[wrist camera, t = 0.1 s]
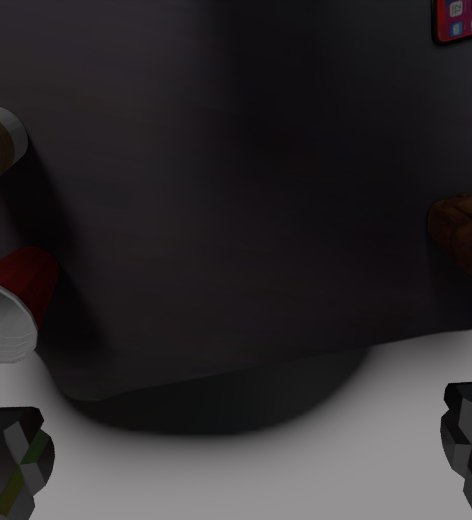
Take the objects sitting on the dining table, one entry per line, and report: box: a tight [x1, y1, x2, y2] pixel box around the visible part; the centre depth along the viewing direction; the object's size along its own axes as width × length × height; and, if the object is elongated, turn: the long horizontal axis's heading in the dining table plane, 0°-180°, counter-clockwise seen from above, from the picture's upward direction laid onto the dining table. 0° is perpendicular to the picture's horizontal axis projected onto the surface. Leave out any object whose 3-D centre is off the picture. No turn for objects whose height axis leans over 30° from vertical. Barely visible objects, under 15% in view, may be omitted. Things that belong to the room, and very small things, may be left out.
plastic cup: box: [0, 246, 59, 363], centre depth 47 cm, size 11×11×12 cm
